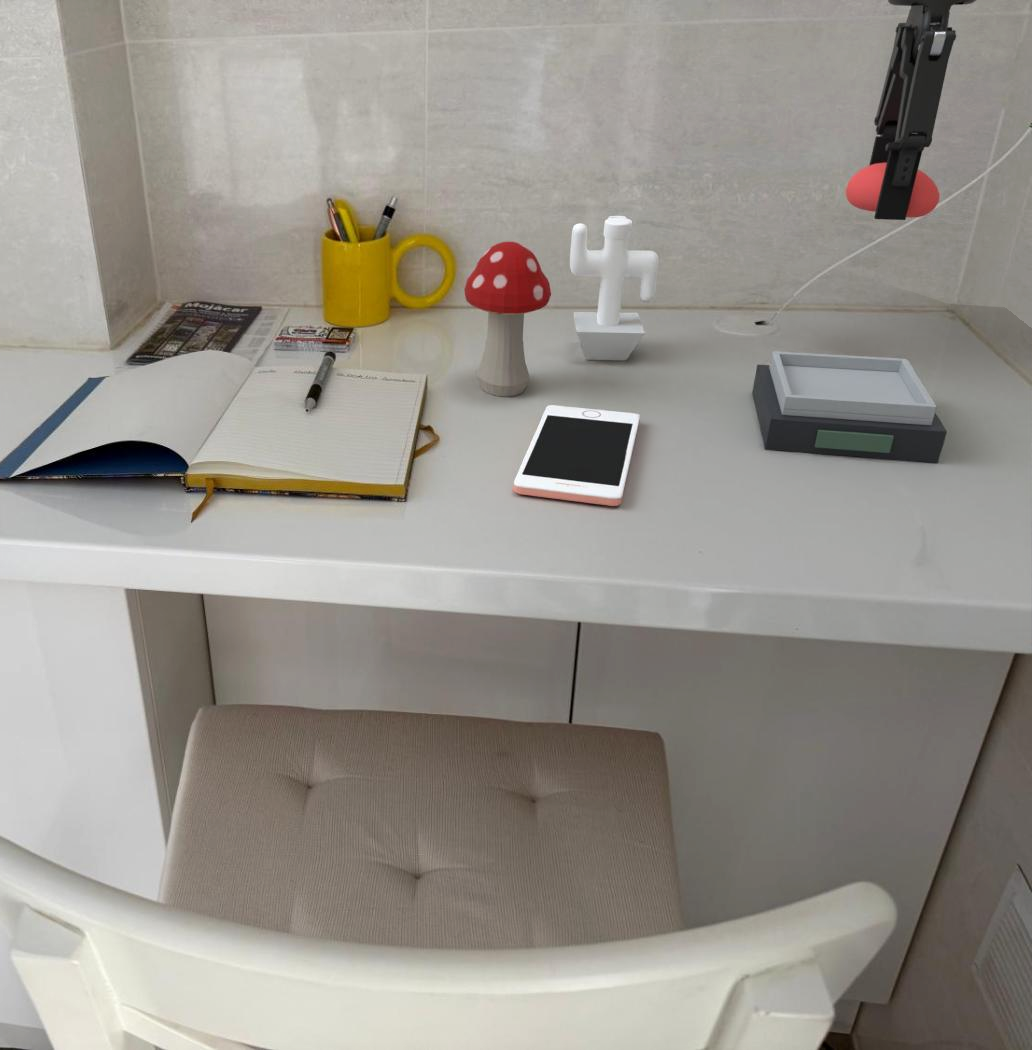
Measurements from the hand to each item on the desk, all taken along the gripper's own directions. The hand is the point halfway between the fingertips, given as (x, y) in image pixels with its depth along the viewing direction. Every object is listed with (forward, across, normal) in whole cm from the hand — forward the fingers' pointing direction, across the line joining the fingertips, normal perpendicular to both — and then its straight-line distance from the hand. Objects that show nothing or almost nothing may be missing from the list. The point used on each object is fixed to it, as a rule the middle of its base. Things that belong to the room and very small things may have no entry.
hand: (882, 209), depth 103 cm
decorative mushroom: (+16, +18, -36) cm, 43 cm away
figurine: (+16, +6, -26) cm, 31 cm away
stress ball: (0, 0, 0) cm, 1 cm away
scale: (+15, +22, -4) cm, 27 cm away
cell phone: (+15, +34, -27) cm, 46 cm away
